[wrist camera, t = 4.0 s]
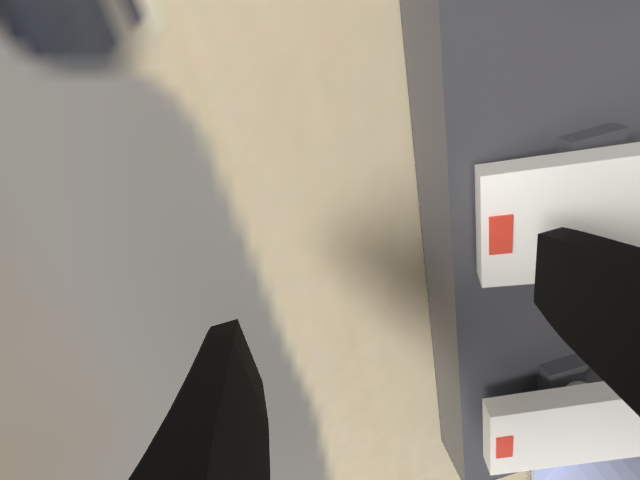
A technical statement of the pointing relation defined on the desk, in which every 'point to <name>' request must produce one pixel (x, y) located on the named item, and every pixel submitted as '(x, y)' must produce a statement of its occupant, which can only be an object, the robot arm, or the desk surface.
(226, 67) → the desk surface
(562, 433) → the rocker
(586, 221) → the rocker middle
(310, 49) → the desk surface
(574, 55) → the rocker switch panel
